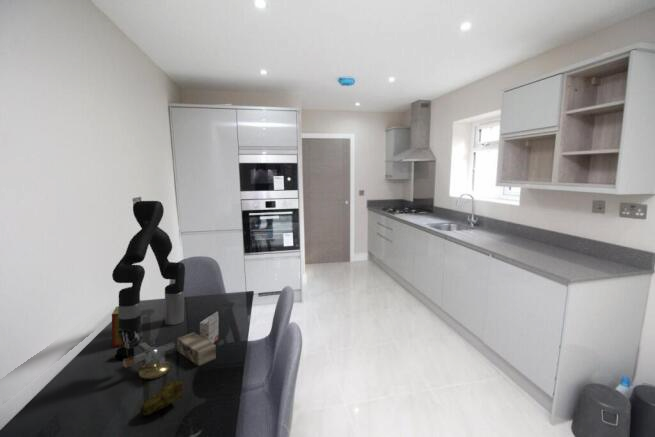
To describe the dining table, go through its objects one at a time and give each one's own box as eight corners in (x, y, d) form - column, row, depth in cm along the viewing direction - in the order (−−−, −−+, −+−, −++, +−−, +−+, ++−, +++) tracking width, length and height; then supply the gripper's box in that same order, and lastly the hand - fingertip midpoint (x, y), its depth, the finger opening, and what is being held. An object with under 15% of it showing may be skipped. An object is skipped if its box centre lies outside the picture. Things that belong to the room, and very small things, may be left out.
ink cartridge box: (209, 337, 151) (210, 309, 150) (218, 339, 150) (219, 310, 149) (199, 346, 143) (199, 316, 141) (208, 348, 142) (208, 318, 140)
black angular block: (142, 355, 134) (142, 345, 134) (130, 365, 127) (130, 354, 126) (116, 352, 135) (116, 343, 135) (102, 362, 128) (102, 351, 127)
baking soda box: (129, 344, 141) (128, 311, 140) (112, 347, 139) (111, 313, 137) (132, 335, 150) (132, 304, 148) (116, 337, 147) (116, 305, 145)
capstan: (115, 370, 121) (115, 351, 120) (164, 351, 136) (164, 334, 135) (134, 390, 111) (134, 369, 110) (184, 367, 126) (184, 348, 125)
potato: (142, 404, 104) (142, 382, 104) (184, 395, 110) (184, 374, 109) (139, 421, 97) (139, 398, 96) (183, 410, 102) (183, 388, 102)
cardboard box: (174, 351, 137) (174, 339, 137) (193, 344, 145) (194, 332, 144) (196, 367, 127) (196, 353, 126) (215, 358, 134) (215, 345, 133)
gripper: (110, 313, 119) (111, 354, 121) (129, 321, 113) (129, 365, 115) (130, 307, 126) (130, 346, 128) (148, 315, 120) (149, 356, 121)
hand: (130, 355), depth 121 cm, fingers closed
